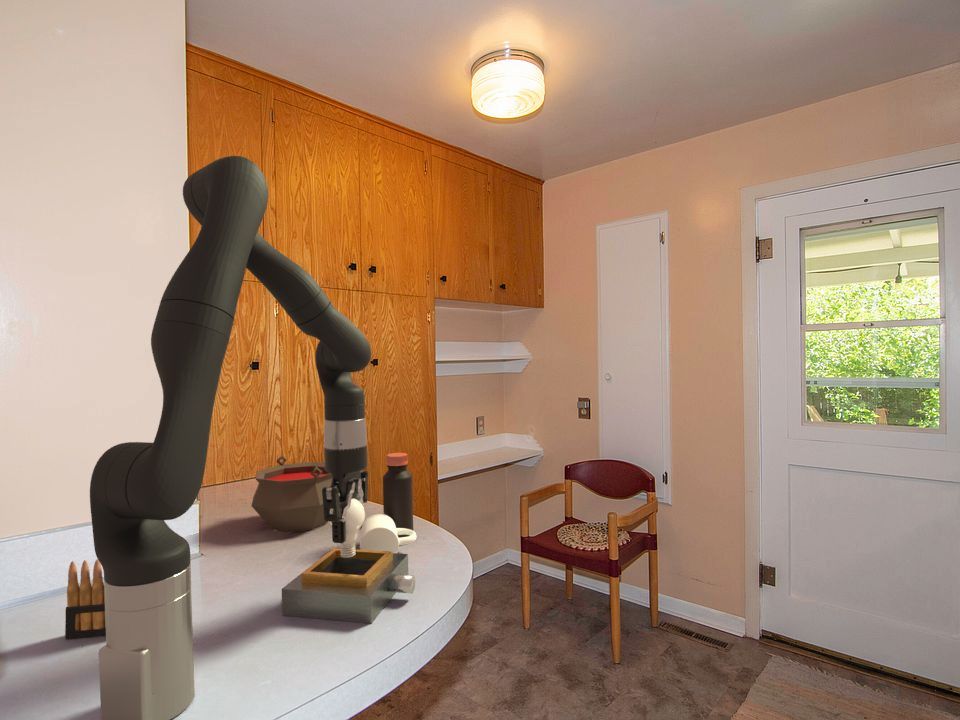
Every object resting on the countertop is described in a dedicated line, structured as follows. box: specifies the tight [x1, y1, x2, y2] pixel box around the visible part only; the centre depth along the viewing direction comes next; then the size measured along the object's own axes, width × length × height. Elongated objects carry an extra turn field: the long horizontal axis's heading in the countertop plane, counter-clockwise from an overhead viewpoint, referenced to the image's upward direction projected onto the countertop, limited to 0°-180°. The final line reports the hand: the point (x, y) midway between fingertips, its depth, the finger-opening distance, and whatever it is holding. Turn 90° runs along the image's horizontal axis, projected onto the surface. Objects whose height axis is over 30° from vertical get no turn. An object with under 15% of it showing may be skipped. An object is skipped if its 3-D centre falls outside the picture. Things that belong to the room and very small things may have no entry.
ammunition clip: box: [64, 558, 106, 641], centre depth 86 cm, size 11×2×12 cm, turn 99°
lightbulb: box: [329, 498, 366, 559], centre depth 98 cm, size 6×6×11 cm
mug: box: [359, 512, 417, 553], centre depth 116 cm, size 12×10×8 cm
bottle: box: [382, 452, 414, 538], centre depth 125 cm, size 7×7×20 cm
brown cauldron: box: [251, 454, 332, 533], centre depth 139 cm, size 24×24×16 cm
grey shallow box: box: [281, 547, 416, 625], centre depth 97 cm, size 18×20×6 cm
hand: (347, 535), depth 98 cm, fingers closed on lightbulb, 6 cm apart
